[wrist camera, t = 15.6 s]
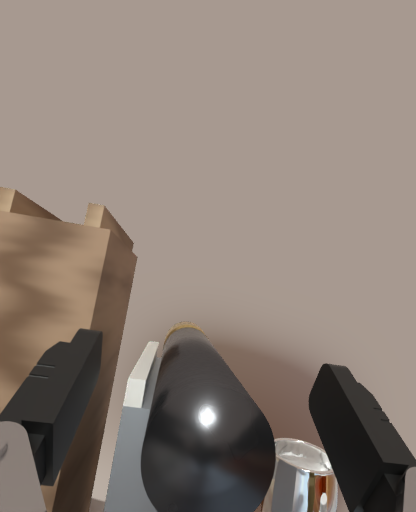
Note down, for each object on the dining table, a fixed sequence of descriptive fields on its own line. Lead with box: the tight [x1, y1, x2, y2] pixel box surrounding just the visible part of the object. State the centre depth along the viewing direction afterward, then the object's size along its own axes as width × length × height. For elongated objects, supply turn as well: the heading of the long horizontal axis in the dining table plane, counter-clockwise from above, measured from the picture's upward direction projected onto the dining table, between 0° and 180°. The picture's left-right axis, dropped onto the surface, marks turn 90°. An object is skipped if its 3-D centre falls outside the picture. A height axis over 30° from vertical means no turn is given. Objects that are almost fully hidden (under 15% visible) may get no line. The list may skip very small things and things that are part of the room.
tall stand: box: [0, 187, 137, 512], centre depth 24 cm, size 8×14×34 cm, turn 6°
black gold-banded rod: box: [141, 322, 276, 512], centre depth 20 cm, size 23×4×4 cm, turn 6°
